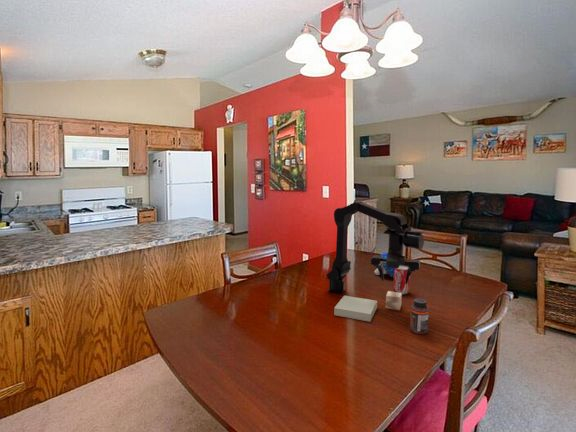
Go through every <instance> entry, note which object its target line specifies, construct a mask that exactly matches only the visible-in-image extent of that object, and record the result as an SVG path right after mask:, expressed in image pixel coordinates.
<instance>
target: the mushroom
mask: <svg viewBox="0 0 576 432" xmlns="http://www.w3.org/2000/svg"><path fill="white" fill-rule="evenodd" d="M387 254H388V252H383V253H381V254H380V255H379V256H383V258H384V259H387ZM400 266H403V265H400ZM383 270H384V275H389V277H391V278H393V279H394V270H395V268H393V267H387V265H386V263H383ZM373 272H374V274H375V275H376V276H380V273H379V270H378V269H377V268H376V269H375V270H374V271H373Z"/></svg>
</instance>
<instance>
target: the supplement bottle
mask: <svg viewBox="0 0 576 432" xmlns="http://www.w3.org/2000/svg"><path fill="white" fill-rule="evenodd" d="M413 300H414V301H413V303H412V305H411V307H410V317H409V318H410V322H409V330H410V331H411V332H413V333H414V334H418V335H425V334H427V333H428V331H429V319H430V318H429V317H430V308H429V307H428V306H427V300H426V299H424V298H414V299H413Z"/></svg>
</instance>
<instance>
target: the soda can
mask: <svg viewBox="0 0 576 432" xmlns="http://www.w3.org/2000/svg"><path fill="white" fill-rule="evenodd" d="M407 270H408V266H405V265H402V266H399V268H395V270H394V278H393V285H392V286H393V292H398V293H402V296H403V295H406V294H409V292H410V285H411V284H410V282H411V275H410V276H409V279H408V281H407V284H405V281H406V275H407Z"/></svg>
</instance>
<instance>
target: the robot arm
mask: <svg viewBox="0 0 576 432" xmlns="http://www.w3.org/2000/svg"><path fill="white" fill-rule="evenodd" d="M358 212H359V213H361V214H363V215H366V216H368V217H370V218H372V219H375V220H377V221H380V222H381V223H382V224H383V225H384V226H385V227H387V229H386V230H384V231H383V234H386V235H388V249H387V253H388V254H387V259H384V258H383V256H380V255H378V254H377V255H376V254H374V255H373V256H372V257H371V258H370V265H373V267H374V268H376V269H378V270H379V273H380V275H379V276H380V279H381V281H382V282H384V280H385V279H384V278H385V274H384V270H383V263H386V265H387V267H393V268H399V266H400V265H402V266H406V267H408V270H407V275H406V281H405V284H407V281H408V279H409V276H410V277H411V274H412V273H413V272H416V271H419V270H420V267H421V266H420V265H421V261H420V260H419V259H415V258H409V260H406V255H404V246H405V248H410V249H416V250H422V248H423V247H424V243H425V239H424V235H423V231H420V230H418V231H413V230H412V229H411V227H410V226H409V224H408V222H407V219H406V216H405V215H403V214H401V213H396V212H389V211H385V210H382V209H380V208H378V207H374V206H373V205H369V204H367V203H365V202H363V201H362V200H357V201H353V202H352V203H350V204H348V205H346V206H344V207H338V208H336V209H335V210H334V211H333V219H334V223H335V225H336V246H335V257H334V260H333V262H332V264H331V270H330V271H329V272H328V273H327V274H326V278H327V280H328V281H329V282H328V284H329V286H328V290H327V291H328V293H335V294H342V293H344V291H345V290H346V281H345V277H347V275H348V274H349V272H350V270H352V269H351V264H352V261H351V260H348V258H347V255H348V254H347V253H348V252H347V251H348V249H347V248H348V232H349V226H350V224H351V221H352V216H353V215H355V214H356V213H358Z"/></svg>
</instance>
